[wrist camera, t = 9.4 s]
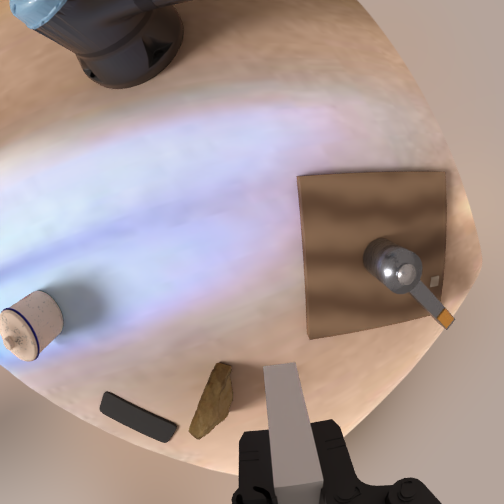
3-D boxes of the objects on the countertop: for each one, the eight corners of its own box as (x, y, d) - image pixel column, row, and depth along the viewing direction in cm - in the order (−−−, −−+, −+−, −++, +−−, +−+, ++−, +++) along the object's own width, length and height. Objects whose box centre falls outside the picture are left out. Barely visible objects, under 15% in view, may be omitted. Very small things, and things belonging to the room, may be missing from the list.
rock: (204, 355, 39) (167, 397, 39) (236, 400, 33) (193, 441, 34) (247, 363, 47) (213, 400, 47) (277, 400, 41) (238, 436, 42)
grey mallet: (355, 260, 36) (379, 280, 28) (379, 230, 35) (408, 243, 28) (423, 322, 39) (449, 346, 31) (443, 298, 38) (471, 318, 30)
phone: (104, 390, 43) (178, 426, 45) (106, 387, 44) (178, 423, 46) (98, 411, 45) (166, 444, 47) (100, 408, 46) (167, 441, 47)
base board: (296, 176, 36) (299, 176, 33) (437, 171, 35) (445, 171, 33) (307, 332, 41) (309, 340, 39) (432, 308, 41) (438, 313, 39)
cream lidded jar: (30, 279, 38) (-13, 305, 27) (69, 306, 39) (29, 340, 28) (25, 330, 41) (-10, 360, 29) (60, 355, 42) (28, 392, 31)
